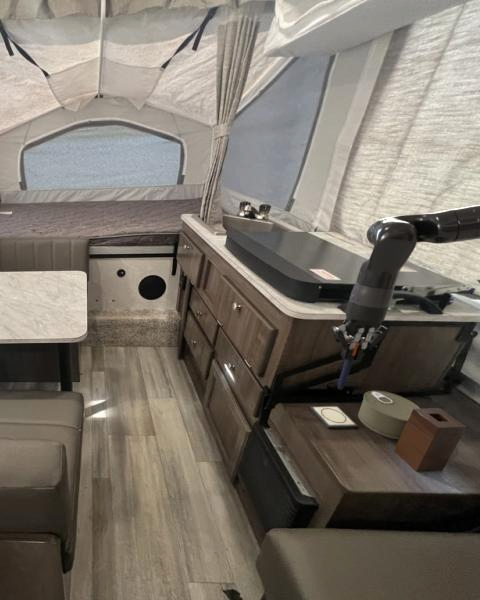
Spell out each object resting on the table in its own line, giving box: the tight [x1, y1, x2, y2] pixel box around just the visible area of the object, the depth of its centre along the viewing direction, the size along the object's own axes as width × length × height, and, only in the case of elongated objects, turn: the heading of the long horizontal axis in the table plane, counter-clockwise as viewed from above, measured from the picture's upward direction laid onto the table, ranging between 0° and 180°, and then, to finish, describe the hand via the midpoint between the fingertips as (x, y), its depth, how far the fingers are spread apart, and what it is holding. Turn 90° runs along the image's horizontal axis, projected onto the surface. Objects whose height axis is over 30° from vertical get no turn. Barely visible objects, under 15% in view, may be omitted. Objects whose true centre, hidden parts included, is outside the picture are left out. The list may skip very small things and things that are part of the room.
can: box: [357, 390, 421, 441], centre depth 87 cm, size 12×12×7 cm
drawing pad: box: [309, 405, 359, 429], centre depth 91 cm, size 8×8×1 cm
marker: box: [337, 342, 359, 391], centre depth 86 cm, size 2×2×15 cm
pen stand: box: [393, 407, 467, 473], centre depth 75 cm, size 6×6×14 cm
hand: (349, 358), depth 85 cm, fingers closed on marker, 1 cm apart
